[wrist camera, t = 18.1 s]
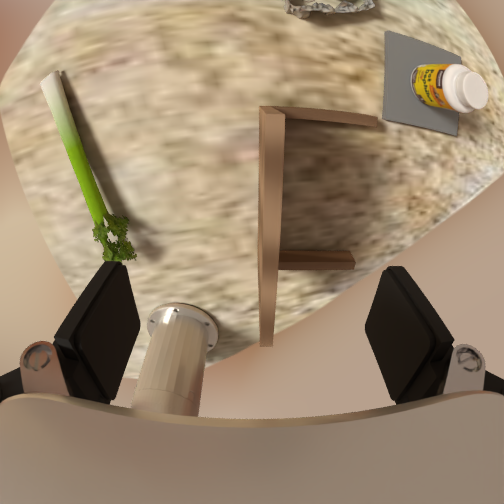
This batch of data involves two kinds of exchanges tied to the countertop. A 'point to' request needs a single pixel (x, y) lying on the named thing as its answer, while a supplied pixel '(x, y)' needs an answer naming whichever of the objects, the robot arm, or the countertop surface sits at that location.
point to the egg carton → (325, 8)
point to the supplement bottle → (449, 87)
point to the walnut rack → (272, 207)
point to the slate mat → (399, 83)
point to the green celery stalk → (86, 173)
